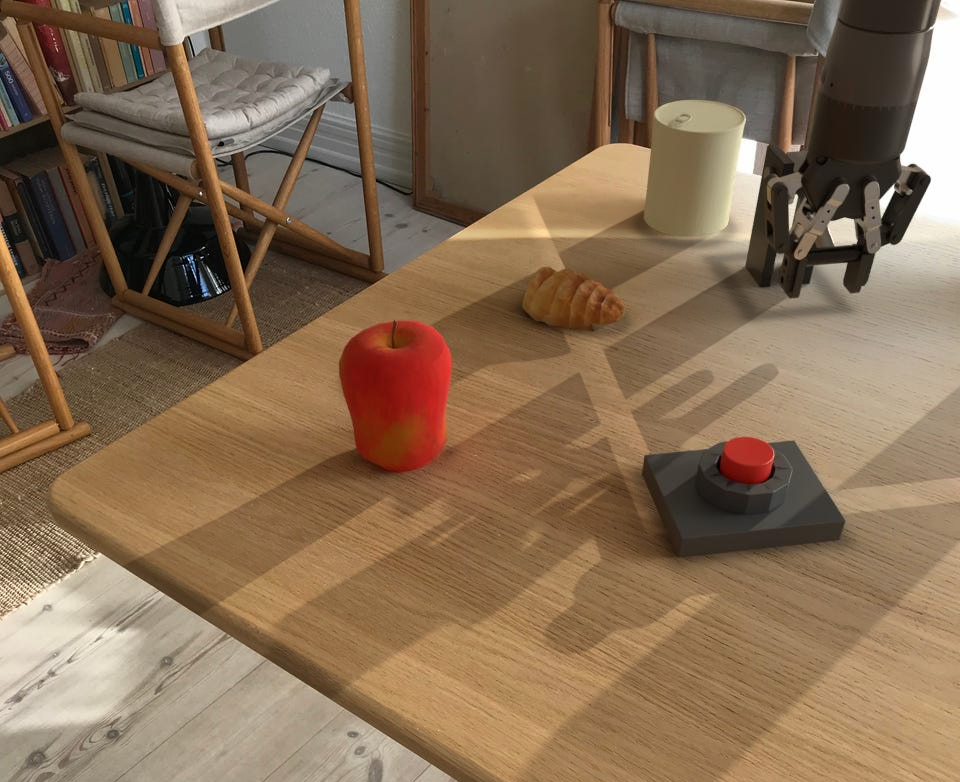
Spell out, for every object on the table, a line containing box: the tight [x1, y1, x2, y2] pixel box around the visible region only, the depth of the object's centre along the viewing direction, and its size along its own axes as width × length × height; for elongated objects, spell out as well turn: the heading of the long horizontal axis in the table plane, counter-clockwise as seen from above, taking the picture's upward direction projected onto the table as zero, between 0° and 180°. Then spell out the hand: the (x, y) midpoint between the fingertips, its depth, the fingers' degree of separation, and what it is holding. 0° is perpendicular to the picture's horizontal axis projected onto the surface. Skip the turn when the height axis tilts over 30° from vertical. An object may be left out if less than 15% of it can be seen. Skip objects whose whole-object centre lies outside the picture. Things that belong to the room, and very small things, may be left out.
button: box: [720, 436, 774, 485], centre depth 75 cm, size 4×4×2 cm
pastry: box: [521, 266, 627, 332], centre depth 97 cm, size 9×7×4 cm
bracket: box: [745, 144, 817, 289], centre depth 98 cm, size 12×9×13 cm
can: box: [643, 99, 747, 238], centre depth 107 cm, size 9×9×12 cm
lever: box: [785, 150, 860, 266], centre depth 92 cm, size 12×5×2 cm, turn 9°
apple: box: [338, 319, 453, 473], centre depth 79 cm, size 9×8×12 cm
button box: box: [641, 440, 846, 559], centre depth 76 cm, size 12×10×4 cm
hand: (821, 290), depth 93 cm, fingers closed on lever, 5 cm apart
